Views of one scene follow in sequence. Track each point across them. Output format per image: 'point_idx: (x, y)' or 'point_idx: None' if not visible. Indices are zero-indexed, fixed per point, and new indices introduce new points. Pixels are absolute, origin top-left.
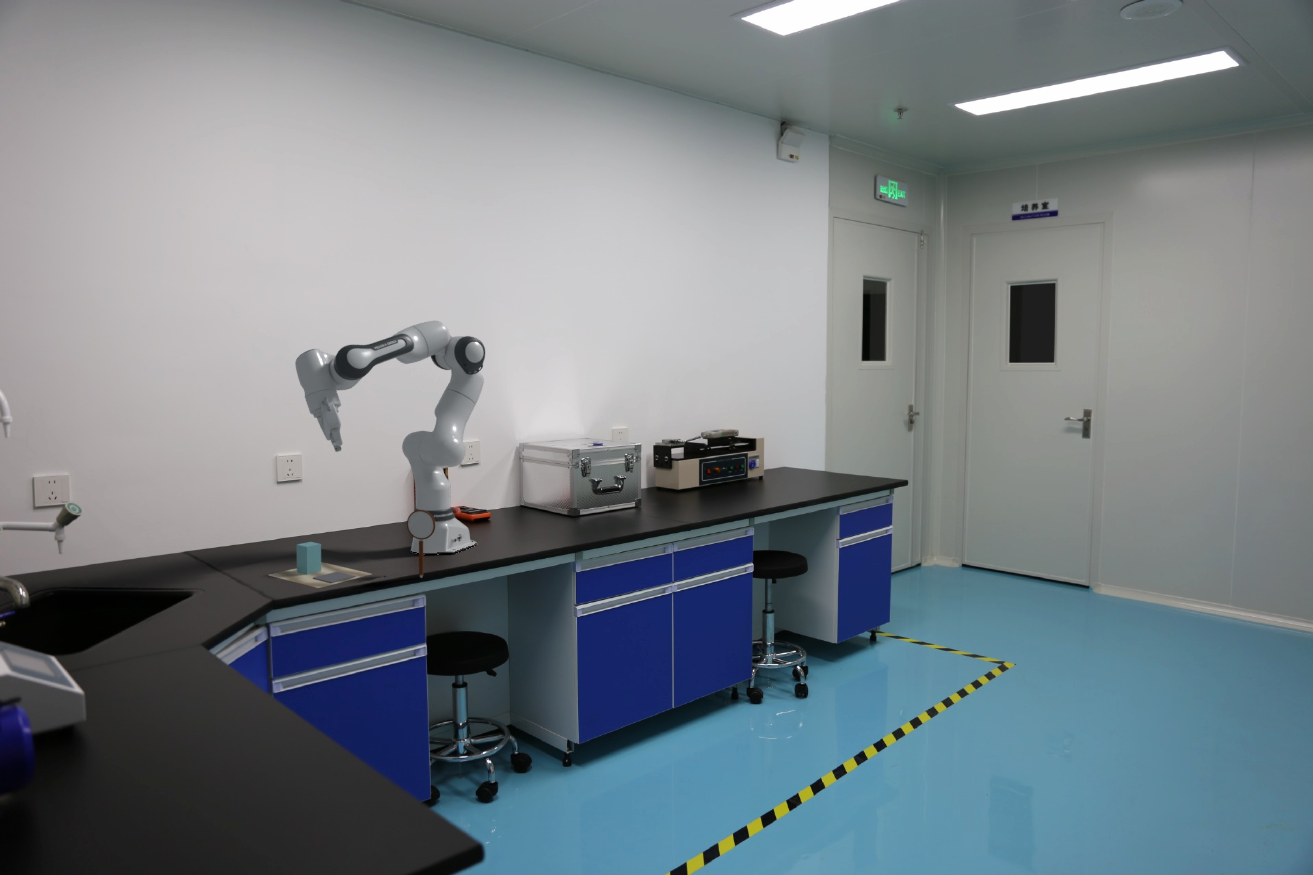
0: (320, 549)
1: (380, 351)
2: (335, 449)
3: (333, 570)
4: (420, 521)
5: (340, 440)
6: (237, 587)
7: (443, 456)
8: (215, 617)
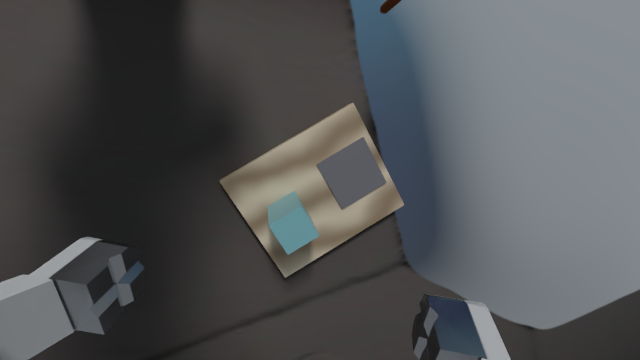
0: (300, 203)
1: None
2: (133, 296)
3: (296, 168)
4: None
5: (494, 345)
6: (311, 313)
7: None
8: None
